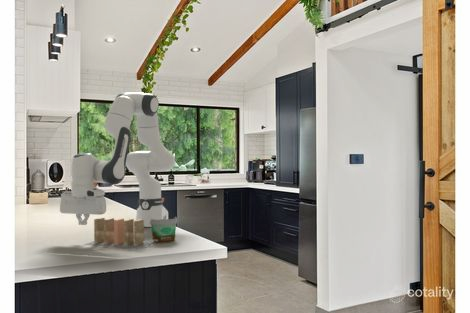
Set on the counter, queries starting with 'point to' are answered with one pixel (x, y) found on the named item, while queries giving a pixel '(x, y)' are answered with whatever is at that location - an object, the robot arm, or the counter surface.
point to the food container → (163, 230)
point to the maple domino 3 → (128, 232)
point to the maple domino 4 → (139, 232)
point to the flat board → (119, 245)
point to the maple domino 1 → (99, 230)
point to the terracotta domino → (118, 231)
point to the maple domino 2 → (108, 231)
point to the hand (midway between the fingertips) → (82, 224)
